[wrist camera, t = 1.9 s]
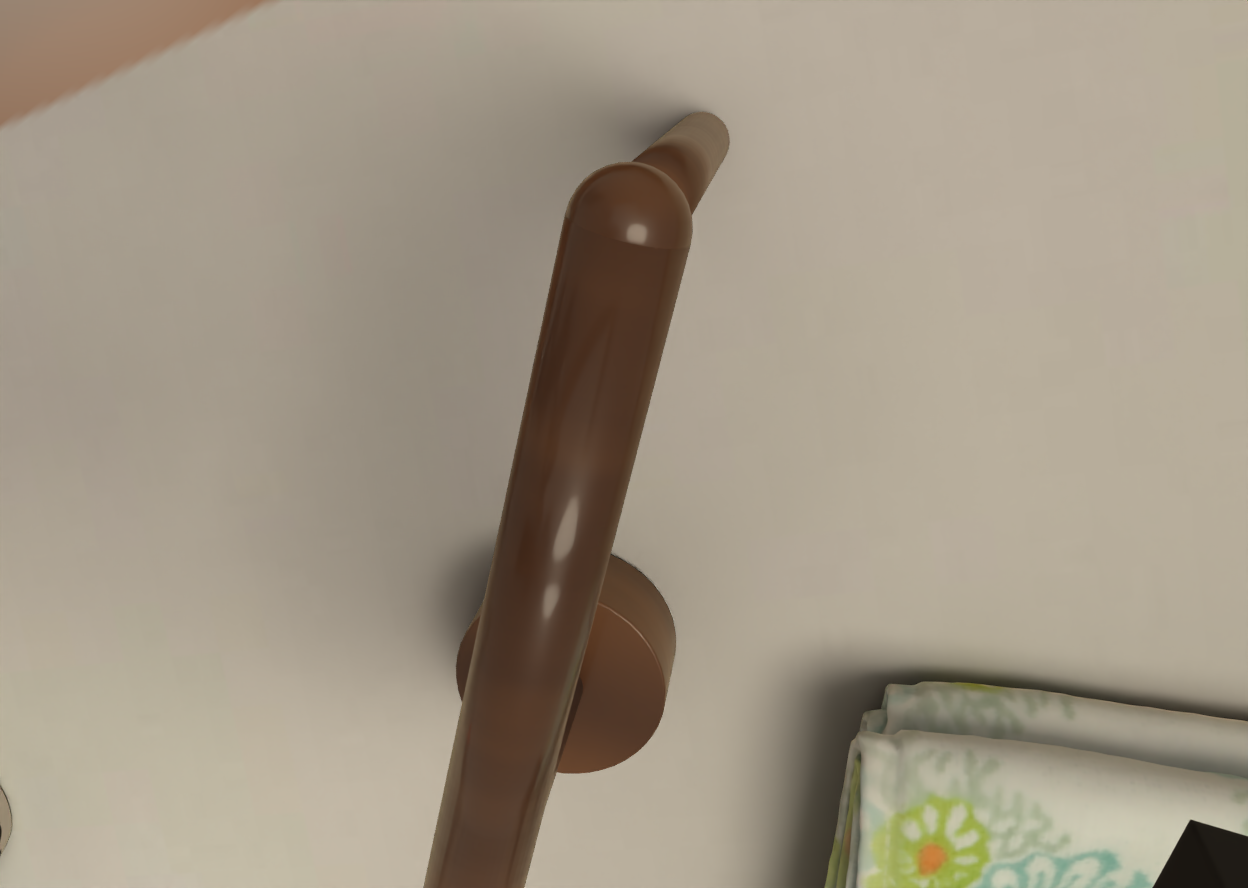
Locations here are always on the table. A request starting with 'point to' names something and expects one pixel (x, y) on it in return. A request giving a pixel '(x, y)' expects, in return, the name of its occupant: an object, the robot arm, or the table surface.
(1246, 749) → the towel
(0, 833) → the cup
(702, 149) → the bent wooden rod
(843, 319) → the table surface
